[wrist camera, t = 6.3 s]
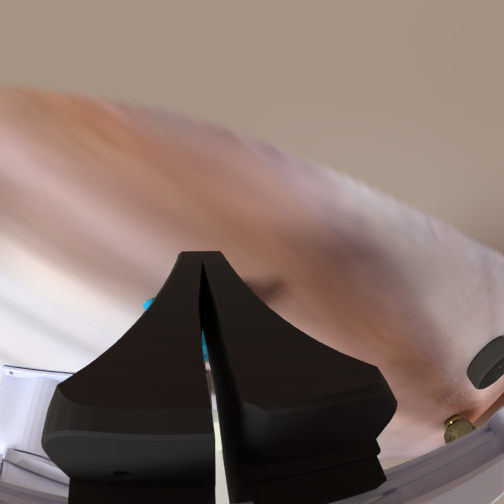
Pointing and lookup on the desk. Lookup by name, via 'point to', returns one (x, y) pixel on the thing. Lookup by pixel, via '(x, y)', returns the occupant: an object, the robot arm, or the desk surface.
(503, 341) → the smart speaker
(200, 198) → the desk surface
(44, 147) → the desk surface
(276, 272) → the desk surface
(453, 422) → the cup
